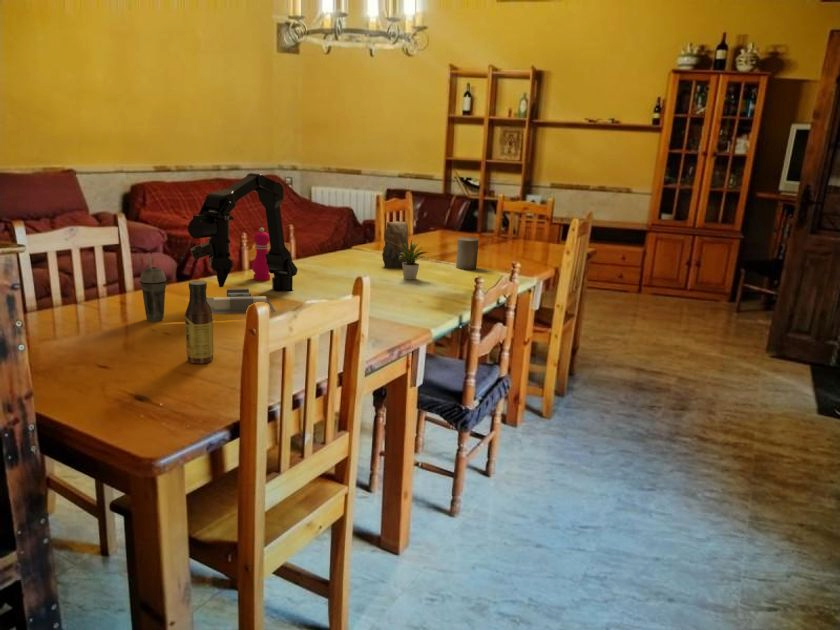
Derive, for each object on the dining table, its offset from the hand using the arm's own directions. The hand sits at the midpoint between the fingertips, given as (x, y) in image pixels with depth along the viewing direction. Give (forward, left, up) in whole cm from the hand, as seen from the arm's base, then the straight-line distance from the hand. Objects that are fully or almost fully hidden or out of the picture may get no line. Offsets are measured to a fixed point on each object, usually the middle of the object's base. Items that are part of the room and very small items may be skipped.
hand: (220, 285), depth 197 cm
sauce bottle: (+8, +47, -8) cm, 48 cm away
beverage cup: (+19, +9, -8) cm, 22 cm away
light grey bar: (-6, 0, -7) cm, 9 cm away
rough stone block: (-81, -65, -8) cm, 104 cm away
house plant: (-77, -39, -8) cm, 87 cm away
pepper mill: (-18, -43, -8) cm, 48 cm away
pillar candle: (-113, -60, -8) cm, 128 cm away
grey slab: (-6, -3, -8) cm, 10 cm away
